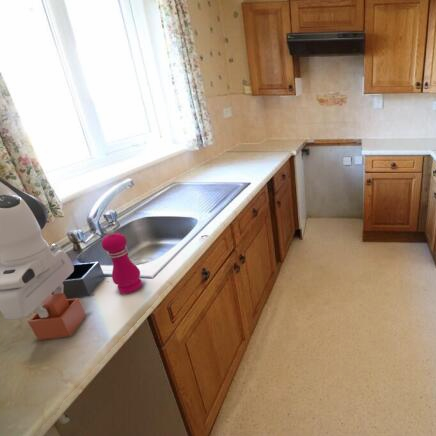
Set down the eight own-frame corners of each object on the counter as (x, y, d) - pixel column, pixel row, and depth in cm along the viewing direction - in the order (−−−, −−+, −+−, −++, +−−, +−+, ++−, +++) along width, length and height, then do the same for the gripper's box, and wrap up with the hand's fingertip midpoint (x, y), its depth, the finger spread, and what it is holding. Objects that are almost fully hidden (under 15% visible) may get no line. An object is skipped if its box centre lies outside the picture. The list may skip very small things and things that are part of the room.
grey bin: (53, 299, 95) (45, 283, 93) (72, 280, 104) (64, 265, 101) (89, 295, 96) (82, 279, 94) (105, 277, 105) (98, 261, 102)
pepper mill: (136, 277, 104) (117, 222, 95) (148, 285, 100) (129, 227, 91) (113, 289, 98) (89, 231, 90) (124, 297, 95) (101, 238, 86)
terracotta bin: (37, 340, 81) (27, 321, 78) (56, 319, 87) (47, 301, 85) (70, 336, 81) (61, 317, 79) (86, 315, 88) (78, 297, 86)
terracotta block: (41, 320, 80) (33, 306, 78) (52, 308, 84) (45, 295, 82) (60, 317, 81) (53, 304, 79) (70, 306, 85) (64, 292, 83)
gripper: (43, 242, 85) (64, 284, 91) (-21, 289, 66) (10, 339, 72) (69, 239, 85) (88, 282, 91) (13, 285, 67) (40, 335, 73)
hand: (53, 308), depth 82 cm, fingers closed on terracotta block, 4 cm apart
